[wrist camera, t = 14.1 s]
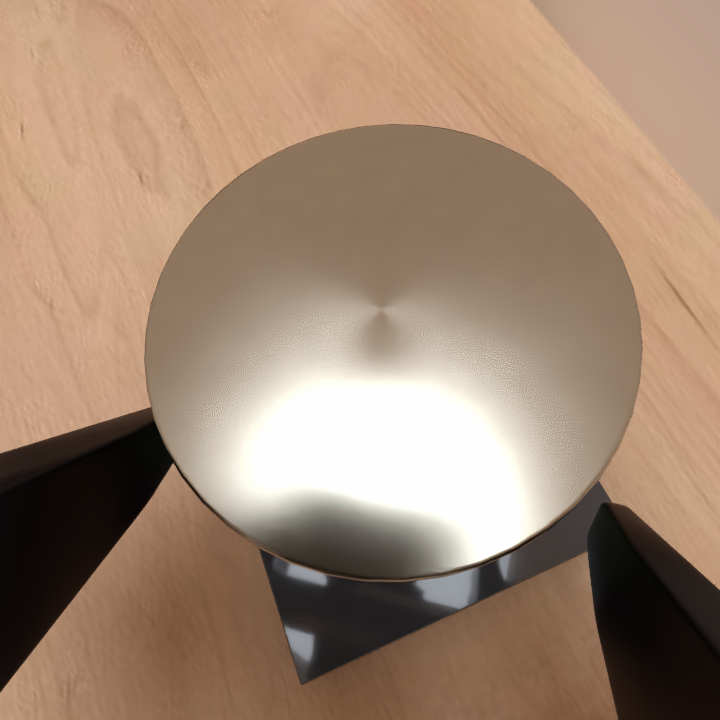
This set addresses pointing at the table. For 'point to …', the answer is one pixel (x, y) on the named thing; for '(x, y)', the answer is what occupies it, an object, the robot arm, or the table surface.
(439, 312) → the tea tin
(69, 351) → the table surface
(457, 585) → the coaster
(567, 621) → the table surface
